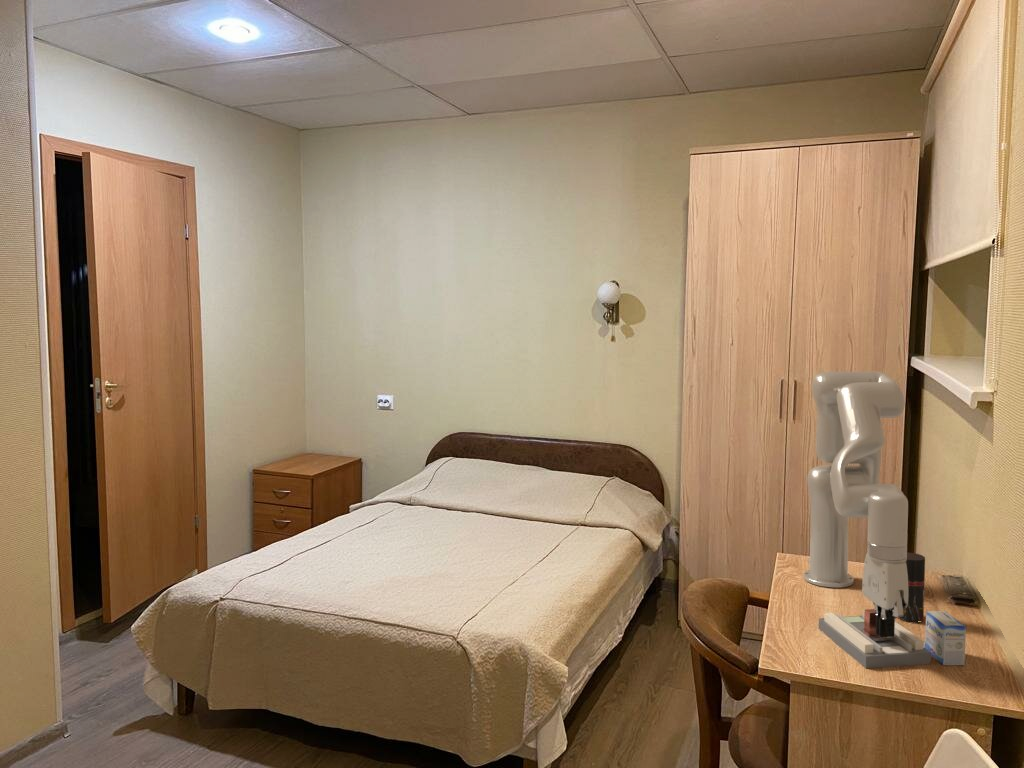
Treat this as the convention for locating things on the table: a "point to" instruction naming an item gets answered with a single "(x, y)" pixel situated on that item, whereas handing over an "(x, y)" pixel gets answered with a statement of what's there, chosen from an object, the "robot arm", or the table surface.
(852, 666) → the table surface
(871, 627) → the lever
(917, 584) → the deodorant
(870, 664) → the breaker panel
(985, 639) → the table surface
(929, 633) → the medicine box
